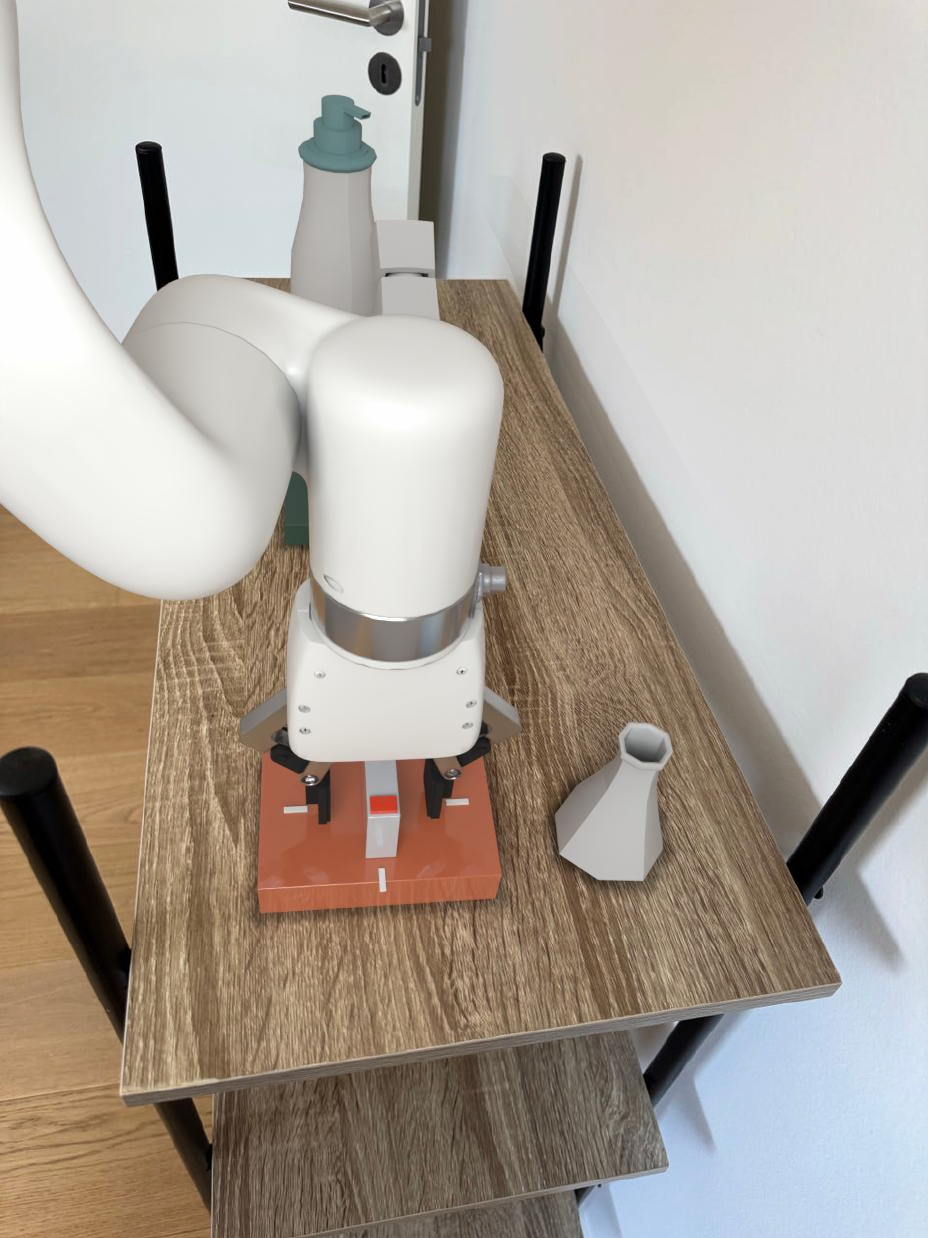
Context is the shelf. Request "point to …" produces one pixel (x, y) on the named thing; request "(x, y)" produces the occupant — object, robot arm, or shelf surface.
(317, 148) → the soap bottle
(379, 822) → the tap handle
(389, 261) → the faucet
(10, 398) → the robot arm
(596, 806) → the flask
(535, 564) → the shelf surface
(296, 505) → the button block
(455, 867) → the panel
